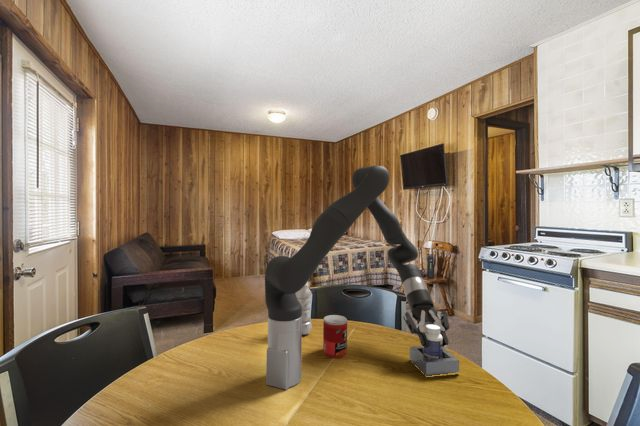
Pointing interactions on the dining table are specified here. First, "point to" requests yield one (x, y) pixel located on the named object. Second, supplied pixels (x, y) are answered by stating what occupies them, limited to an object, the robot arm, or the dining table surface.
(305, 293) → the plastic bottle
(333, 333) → the canned food
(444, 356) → the socket cup
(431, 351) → the pill bottle
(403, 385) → the dining table surface
